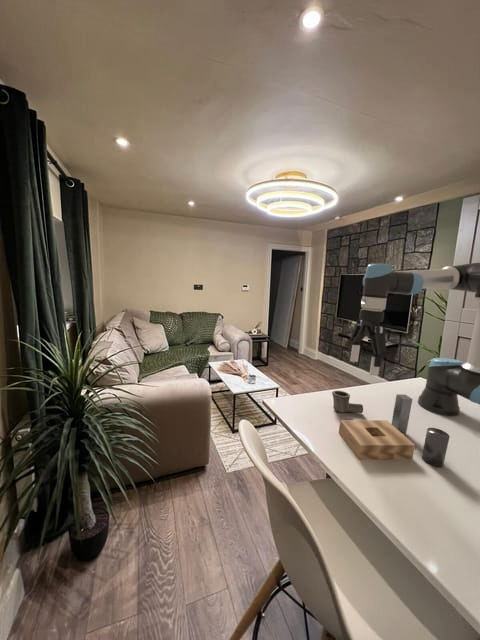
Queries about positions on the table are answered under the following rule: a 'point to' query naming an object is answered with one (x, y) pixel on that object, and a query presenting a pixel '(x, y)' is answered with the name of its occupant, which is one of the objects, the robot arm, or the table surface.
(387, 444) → the block
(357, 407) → the pipe
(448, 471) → the table surface
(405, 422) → the square bit
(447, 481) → the table surface
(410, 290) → the robot arm
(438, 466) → the round bit
